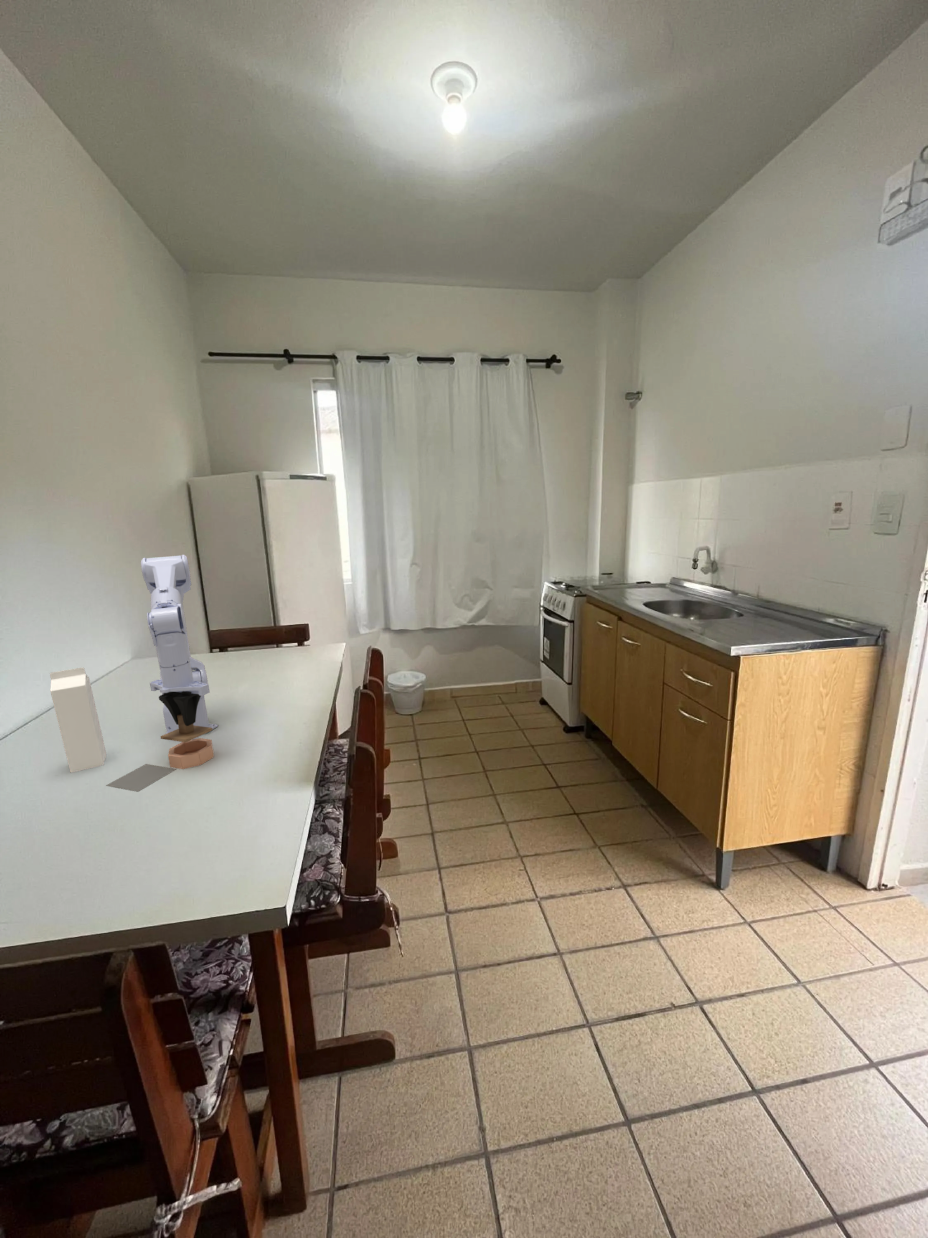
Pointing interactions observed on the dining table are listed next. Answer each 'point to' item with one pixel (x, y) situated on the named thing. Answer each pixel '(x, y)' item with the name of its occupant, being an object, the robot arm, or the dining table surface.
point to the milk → (77, 719)
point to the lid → (185, 731)
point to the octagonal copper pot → (191, 753)
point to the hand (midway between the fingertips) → (186, 723)
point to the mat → (141, 777)
